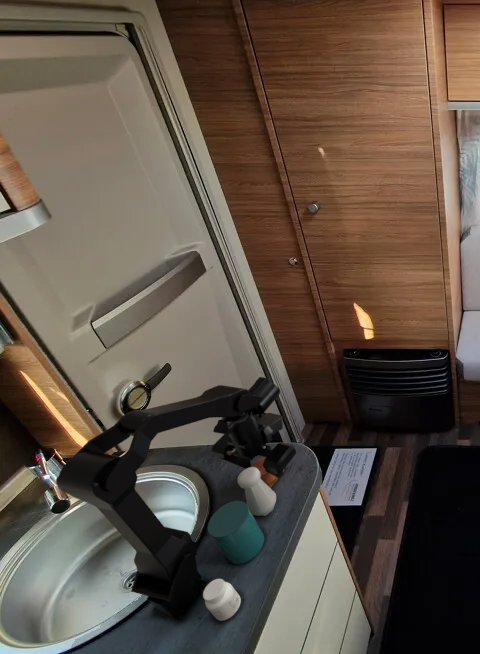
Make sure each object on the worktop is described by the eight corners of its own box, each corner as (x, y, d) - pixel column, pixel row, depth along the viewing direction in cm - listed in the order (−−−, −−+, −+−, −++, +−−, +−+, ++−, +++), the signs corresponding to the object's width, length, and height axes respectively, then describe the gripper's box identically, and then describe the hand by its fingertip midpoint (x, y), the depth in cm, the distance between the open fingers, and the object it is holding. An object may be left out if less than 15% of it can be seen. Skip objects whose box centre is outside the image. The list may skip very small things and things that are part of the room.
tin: (247, 569, 85) (228, 541, 79) (219, 559, 87) (198, 531, 81) (272, 533, 91) (256, 505, 85) (245, 525, 93) (227, 497, 87)
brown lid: (268, 488, 99) (263, 478, 97) (250, 483, 101) (244, 473, 99) (283, 469, 104) (278, 459, 102) (265, 464, 105) (260, 454, 103)
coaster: (268, 490, 99) (268, 489, 99) (249, 485, 101) (248, 484, 100) (284, 470, 104) (284, 469, 104) (266, 464, 105) (265, 463, 105)
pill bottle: (237, 588, 82) (223, 569, 78) (244, 607, 80) (230, 589, 76) (212, 607, 80) (196, 588, 76) (218, 627, 77) (203, 609, 73)
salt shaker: (271, 520, 93) (253, 487, 87) (246, 520, 94) (226, 486, 87) (283, 495, 98) (266, 462, 92) (259, 495, 98) (241, 461, 92)
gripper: (302, 411, 98) (318, 452, 106) (237, 395, 102) (257, 436, 110) (268, 451, 88) (288, 493, 97) (198, 432, 93) (223, 474, 101)
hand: (264, 472), depth 101 cm, fingers open, 9 cm apart
